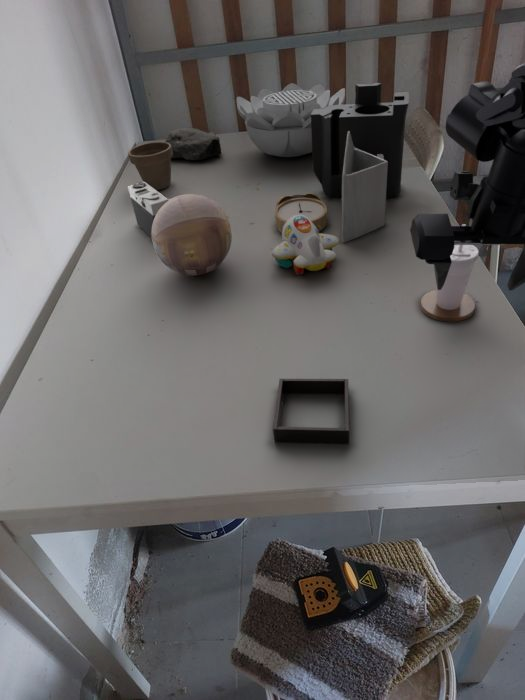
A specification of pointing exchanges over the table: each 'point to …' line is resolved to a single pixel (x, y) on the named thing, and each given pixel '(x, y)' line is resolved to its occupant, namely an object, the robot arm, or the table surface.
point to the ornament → (191, 234)
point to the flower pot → (153, 163)
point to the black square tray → (311, 433)
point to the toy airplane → (304, 246)
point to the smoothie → (457, 276)
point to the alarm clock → (301, 209)
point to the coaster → (441, 314)
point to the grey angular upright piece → (362, 192)
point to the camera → (146, 204)
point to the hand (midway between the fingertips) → (473, 287)
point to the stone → (193, 144)
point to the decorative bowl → (285, 118)
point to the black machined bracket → (359, 136)
